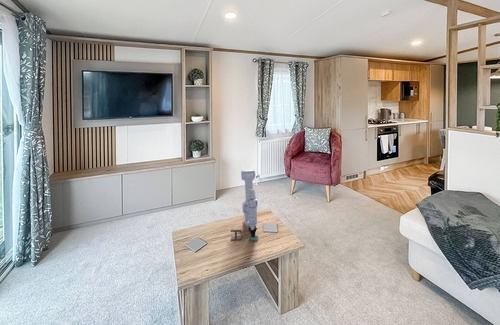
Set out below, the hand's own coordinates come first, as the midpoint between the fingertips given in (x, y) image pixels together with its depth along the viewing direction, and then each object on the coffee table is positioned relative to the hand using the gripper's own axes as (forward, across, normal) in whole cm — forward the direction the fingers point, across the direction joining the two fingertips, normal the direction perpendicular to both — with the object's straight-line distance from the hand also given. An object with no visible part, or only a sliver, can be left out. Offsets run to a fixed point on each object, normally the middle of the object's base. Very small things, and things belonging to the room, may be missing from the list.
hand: (253, 234), depth 181 cm
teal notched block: (+3, 0, 0) cm, 3 cm away
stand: (+3, 0, -12) cm, 13 cm away
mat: (+3, 0, 0) cm, 4 cm away
